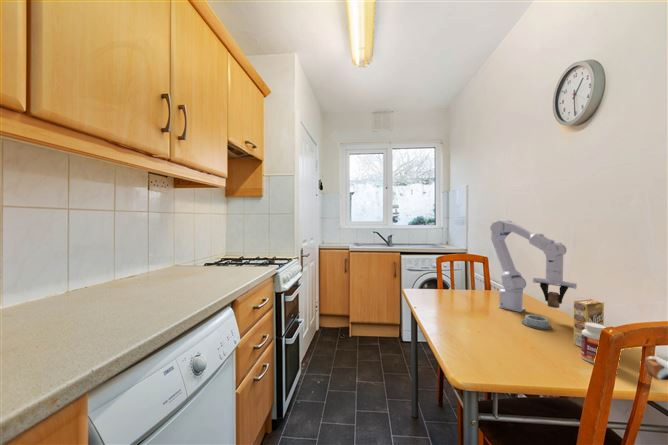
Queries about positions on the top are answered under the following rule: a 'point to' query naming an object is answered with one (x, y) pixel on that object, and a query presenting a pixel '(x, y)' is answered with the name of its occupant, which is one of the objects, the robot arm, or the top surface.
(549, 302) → the walnut peg
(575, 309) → the candy box
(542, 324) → the collar socket
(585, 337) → the pill bottle
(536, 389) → the top surface
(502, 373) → the top surface
